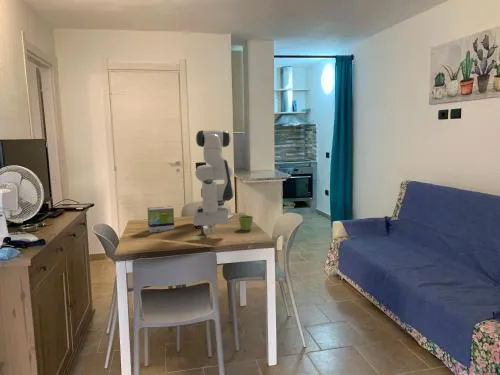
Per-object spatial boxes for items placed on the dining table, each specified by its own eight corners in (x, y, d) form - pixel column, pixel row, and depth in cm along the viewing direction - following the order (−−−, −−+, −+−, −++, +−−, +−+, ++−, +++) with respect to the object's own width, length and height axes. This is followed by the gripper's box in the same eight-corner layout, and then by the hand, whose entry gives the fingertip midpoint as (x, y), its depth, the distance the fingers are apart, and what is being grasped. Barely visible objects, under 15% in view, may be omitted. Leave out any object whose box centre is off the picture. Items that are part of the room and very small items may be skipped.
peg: (200, 232, 239) (200, 224, 239) (208, 232, 240) (208, 224, 240) (203, 238, 225) (203, 230, 224) (211, 238, 226) (211, 229, 225)
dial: (199, 229, 254) (199, 227, 254) (233, 232, 243) (233, 230, 243) (175, 238, 232) (175, 236, 232) (211, 242, 221) (211, 240, 221)
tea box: (150, 233, 247) (149, 209, 245) (148, 230, 256) (146, 207, 254) (174, 230, 252) (173, 207, 251) (171, 227, 262) (170, 205, 260)
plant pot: (236, 229, 250) (236, 216, 249) (251, 228, 253) (250, 215, 252) (240, 233, 242) (240, 219, 241) (255, 231, 244) (255, 217, 243)
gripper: (227, 206, 233) (228, 229, 234) (192, 208, 229) (193, 232, 231) (229, 208, 227) (229, 232, 228) (192, 210, 223) (193, 234, 224)
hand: (211, 232), depth 229 cm, fingers closed
